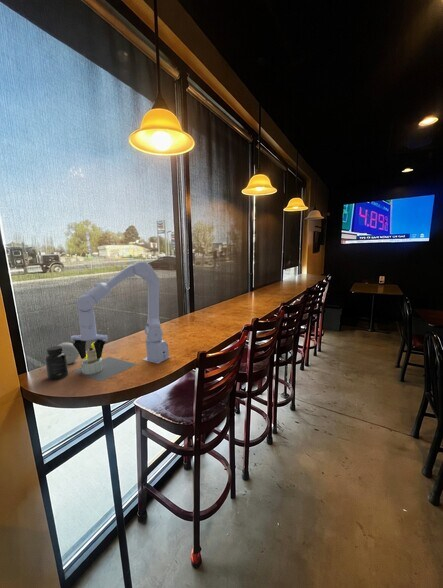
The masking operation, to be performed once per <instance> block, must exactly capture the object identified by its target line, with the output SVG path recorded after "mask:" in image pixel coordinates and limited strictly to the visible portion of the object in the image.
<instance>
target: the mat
mask: <svg viewBox="0 0 443 588" xmlns="http://www.w3.org/2000/svg"><path fill="white" fill-rule="evenodd" d="M102 362H103V370H101V371H100V372H98V373H95V374H89V375H86V374H83V373H82V367H79V368H76V369H74V370H72V371H71V372H73V373H75V374H78V375H81V376H84V377H87V378H89V379H92V380H95V381H98V382H104V381H105V380H107V379H109V378H112V377H114V376H115V375H117V374H120V373H122V372H125V371H127V370H128V369H130V368H133V367H135V366H137V365H138V363H134V362H130V361H127V360H123V359H119V358H116V357H112V356H108V357H105V358H102Z"/></svg>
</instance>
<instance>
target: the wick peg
mask: <svg viewBox="0 0 443 588" xmlns="http://www.w3.org/2000/svg"><path fill="white" fill-rule="evenodd" d="M86 353H87V357H88V364H91V363H95V362H96V351H95V348H91V347H89V348H88V349H87V348H86Z"/></svg>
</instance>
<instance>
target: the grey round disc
mask: <svg viewBox="0 0 443 588" xmlns="http://www.w3.org/2000/svg"><path fill="white" fill-rule="evenodd" d="M57 346H62V350H63V351H62V352H63V353H64V352H65V351H68V352H69V353H70V355H69V356H66V359H67V365H70V364H74V363H75V362H76V361H77V360H78V359H79V357H80V354H79V352H78V351H77V349H76V348H75V347H74V346H73V343H72V342H67V341H66V342H61V343H60V344H58V345H57Z"/></svg>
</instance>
